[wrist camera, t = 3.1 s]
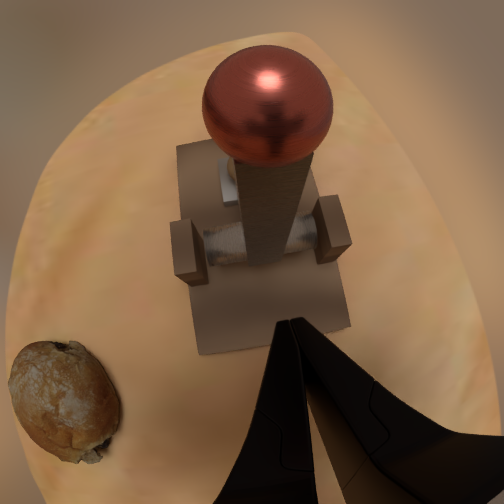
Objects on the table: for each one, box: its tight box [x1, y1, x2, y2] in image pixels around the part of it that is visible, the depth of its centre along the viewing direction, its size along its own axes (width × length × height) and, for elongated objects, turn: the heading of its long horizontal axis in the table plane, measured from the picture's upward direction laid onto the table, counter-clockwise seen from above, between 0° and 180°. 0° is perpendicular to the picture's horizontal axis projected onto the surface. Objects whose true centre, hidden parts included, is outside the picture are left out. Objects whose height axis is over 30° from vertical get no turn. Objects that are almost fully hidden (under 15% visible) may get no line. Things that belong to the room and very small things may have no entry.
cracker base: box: [170, 139, 352, 355], centre depth 18 cm, size 16×10×6 cm, turn 10°
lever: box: [202, 45, 333, 267], centre depth 11 cm, size 6×6×13 cm
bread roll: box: [8, 341, 119, 464], centre depth 16 cm, size 10×10×8 cm
